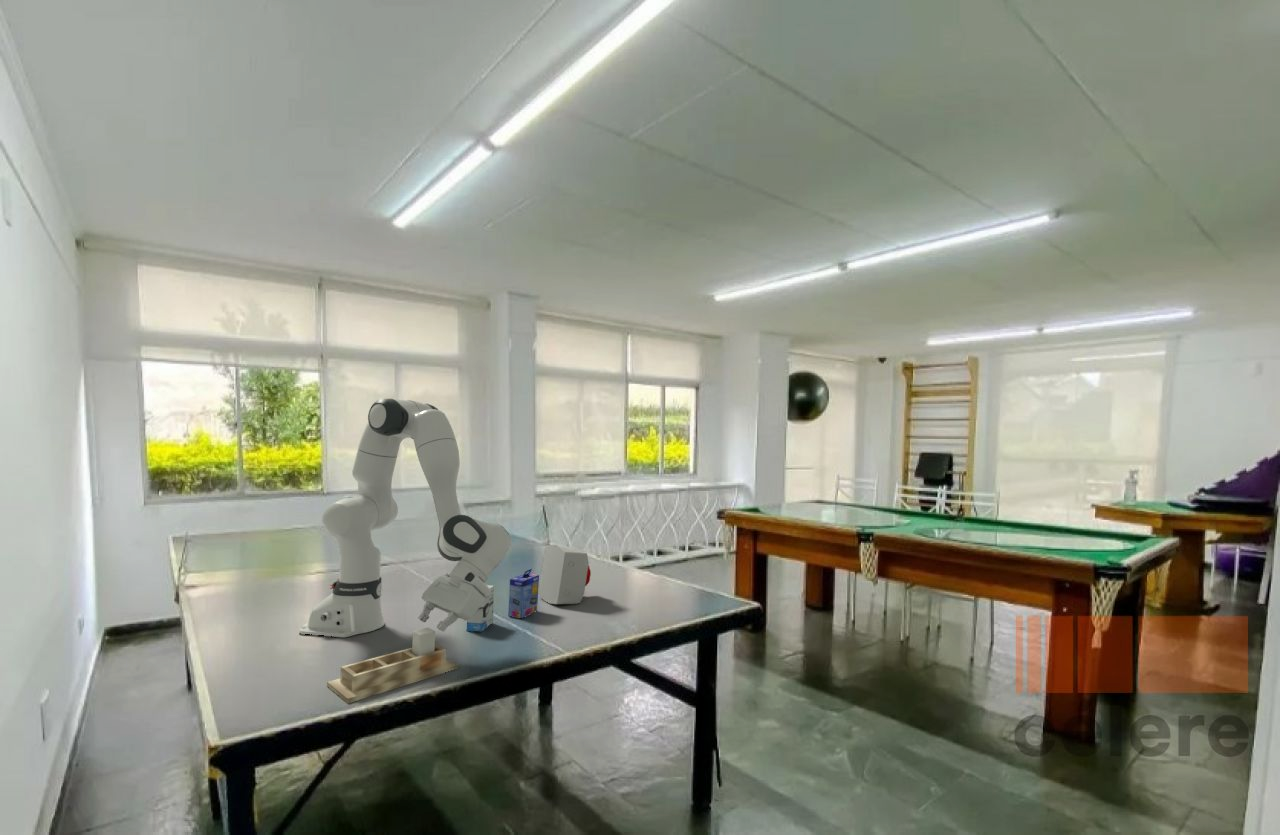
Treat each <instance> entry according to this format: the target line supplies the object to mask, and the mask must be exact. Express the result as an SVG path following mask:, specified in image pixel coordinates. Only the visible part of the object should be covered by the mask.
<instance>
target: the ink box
mask: <svg viewBox="0 0 1280 835" xmlns="http://www.w3.org/2000/svg"><path fill="white" fill-rule="evenodd" d="M486 585H487V586H488V587H489V589H490V590H491V593H490V595H489V596H488V597H484V601H483V603H482V605H481V606H480V607H479V609H478V610H477V611H476V613H475V614H474V615H473V616H472V617H471V618H470V619H468V620H466V631H467V632H473V631H482V630H483V629H485V628H486V627H487V626H489V625H490V624H492V623H493V624H494V605H495V604H494V600H495V599H494V598H495V596H494V594H495V585H491V584H490V585H489V584H486ZM493 624H492V625H493ZM490 626H491V625H490ZM490 626H489V627H490ZM487 628H488V627H487ZM487 628H486V629H487ZM486 629H485V630H486ZM483 631H484V630H483ZM483 631H482V632H483Z"/></svg>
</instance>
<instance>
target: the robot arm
mask: <svg viewBox="0 0 1280 835" xmlns="http://www.w3.org/2000/svg"><path fill="white" fill-rule="evenodd" d="M367 420H368V422H367V424H366V426H365V428H364V431H363V433H362V436H361V438H360V441H359V444H358V448H357V452H356V454H355V455H356V456H355V458H354V459H355V460H354V464H353V468H352V477H353V479H354V480H355V481H356V482H357V487H358V488H357V489H358V492H357V495H356V496H353V497H346V498H345V497H344V498H342V499H339V500H337V501H335V502H333V503H331V504H329V505H327V507H326V508H325V509H324V511H323V514H322V520H321V521H322V525H323V528H324V530H325V531H326V532H327V533H328V534H330V535H331V536H332V538H333V539H334V540H335V543H336V546H337V549H338V550H337V551H338V555H339V578H338V579H337V580H336V581H334V582H333V583H332V584H330V585H329V586H330V588H329V589H330V590H332V593H330V594H329V595H328V596H326V597H325V598H323V600H321V601H320V602H318V604H316V605H315V606H314V607H313V608H312V610H311V612H310V615H309V617H308V618H309V619H308V621H307V622H306V623H304V624H303V625H302V626H301V627H299V632H298V633H301V634H300V635H305V634H310V635H309V636H318V635H324V636H323V637H331V636H332V637H336V638H348V637H352V636H355V635H359V634H365V633H369V632H373V631H375V630H377V629H378V630H379V629H380V628H382V627H383V626H384V625H385V623H386V622H385V621H384V616H383V612H382V604H381V597H382V591H383V585H382V584H383V583H382V576H381V560H382V553H381V551H380V549H379V548H378V547H377V546H375V545H374V543H373V538H372V535H371V533H372V531H376V530H380V529H383V528H385V527H386V526H388V525H390V524H391V523H393V522H394V521H395V520H396V518H397V515H398V513H399V512H398V511H399V507H398V504H397V501H396V500H395V498H394V497H393V491H392V490H393V489H392V488H393V487H392V483H393V476H394V471H395V467H396V463H397V458H398V454H399V450H400V445H401V444H402V443H401V442H402V441H403V440H405V439H407V438H408V439H409V438H410V439H412V440H413V443H414V448H415V452H416V456H417V458H418V462H419V465H420V468H421V470H422V472H423V475H424V476H425V477H424V478H425V479H426V481H427V484H428V487H429V489H430V491H431V495H432V498H433V503H434V507H435V510H436V515H437V516H436V517H437V520H438V524H439V526H438V527H439V532H438V537H437V543H436V544H437V545H436V546H437V550H438V553H439V554H440V555H441V556H442V558H444V559H445V560H447V561H451V562H457V564H456V565H455V566H454V567H453V568H452V570H450V572H447V573H445V574H443V575H441V576H439V577H437V578H436V579H435V580H434V581H433V582H432V583H431V584H429V586H428V587H427V588H426V589H425V591H424V592H423V593H422V595H421V599H422V600H423V601H424V602H425V604H424V605H423V609H422V612H421V613H420V614H419V616H418V617H417V618H418V620H419V621H421V622H422V623H427V620H429V619H430V616H429V615H430V613H431V611H434V609H438V610H440V611H442V612H445V613H447V617H446V618H445V619H443V620H440V621H439V622H438V624H437V625H436V628H437V629H438V630H439V631H441V632H445V631H446V629H448V627H450V626H451V625H452V624H454V623H455V622H457V620H458V619H462V621H467V620H468V619H470V618H471V617H472V616H473V615H474V614H475V613H476V611H477V610H478V609H479V607H480V606H481V605H482V603H483V601H484V597H488V596H489V595H490V593H491V590H490V589H489V587H488V586H487V585H488V584H487V583H486V582H487V581H488V579H489V576H490V574H491V573H492V571H494V570H495V569H496V568H497V567H498V566H499V565H500V563H501V562H502V561H503V560H504V559H505V556H506V555H507V554H508V552H509V550H510V548H511V545H512V538H511V536H510V534H509V531H507V530H506V528H505V527H504V526H502V525H500V524H499V523H497V522H489V523H488V522H484V521H480V520H477V519H475V518H473V517H472V516H471V517H470V516H469V515H466V514H462V513H461V509H460V504H459V500H458V496H457V495H458V494H457V480H458V474H459V470H460V464H461V462H460V452H459V447H458V442H457V438H456V436H455V433H454V430H453V427H452V426H451V424H450V421H449V419H448V417H447V415H446V414H445V413H444V412H443V411H441V410H439V408H437V407H436V406H434V405H432V404H429V403H423V402H419V401H416V400H409V399H407V400H405V399H394V398H381V399H377V400H376V401H374V402H373V403H372V405H371V406H370V408H369V411H368V415H367ZM311 634H312V635H311Z"/></svg>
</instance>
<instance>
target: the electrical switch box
mask: <svg viewBox="0 0 1280 835" xmlns="http://www.w3.org/2000/svg"><path fill="white" fill-rule="evenodd" d="M588 556H589V555H588V553H587V552H584V551H581V550H578V549H576V548H573V547H569V546H564V545H558V544H547V545H545V549H544V555H543V560H542V561H543V562H542V568H541V574H540V578H539V586H538V597H540V598H541V599H542V600H543V601H544V602H545V601H546V602H548V603H547V604H552V605H579V604H578V603H581V601H582V599H583V597H584V595H585V589H586V587H587V586H588V584H589V583H590V581H591V569H590V566H589V564H590V563H589V558H588ZM546 602H545V603H546Z"/></svg>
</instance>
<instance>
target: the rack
mask: <svg viewBox="0 0 1280 835" xmlns="http://www.w3.org/2000/svg"><path fill="white" fill-rule="evenodd" d="M456 668H457V669H458V664H457V663H456V662H453V661H452V660H450V659H448V658H447V650H446V649H444V648H442V647H441V646H438V645H437V644H435V649H434V652H432V653H428V654H425V655H421V656H418V657H417V656H415V655H413V654H412V647H409V648H406V649H405V648H404V649H402V650H398V651H394V652H391V653H387V654H383V655H379V656H376V657H371V658H369V659H365V660H361V661H357V662H354V663H353V662H352V663H350V664H346V665H342V666H340V678H337V679H334V680H332V679H331V680H329V681H327V682H326V687H327V686H328V687H329V688H328V687H327V688H328V689H329V690H330V691H332V692H333V691H334V692H335V695H337V696H338V695H339V696H340V697H339V696H338V697H339V698H341V699H342V700H343V701H344V702H346V704H351V703H354V702H356V701H360V700H363V699H366V698H370V697H373V696H376V695H378V694H382V693H385V692H388V691H392V690H395V689H398V688H401V687H404V686H406V685H411V684H413V683H417V682H419V681H423V680H427V679H430V678H432V677H433V678H434V677H436V676H439V675H442V674H446V673H449V672H452V671H455V670H457V669H456ZM454 669H455V670H454ZM451 670H452V671H451ZM448 671H449V672H448ZM445 672H446V673H445ZM334 692H333V693H334ZM372 695H373V696H372Z"/></svg>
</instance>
